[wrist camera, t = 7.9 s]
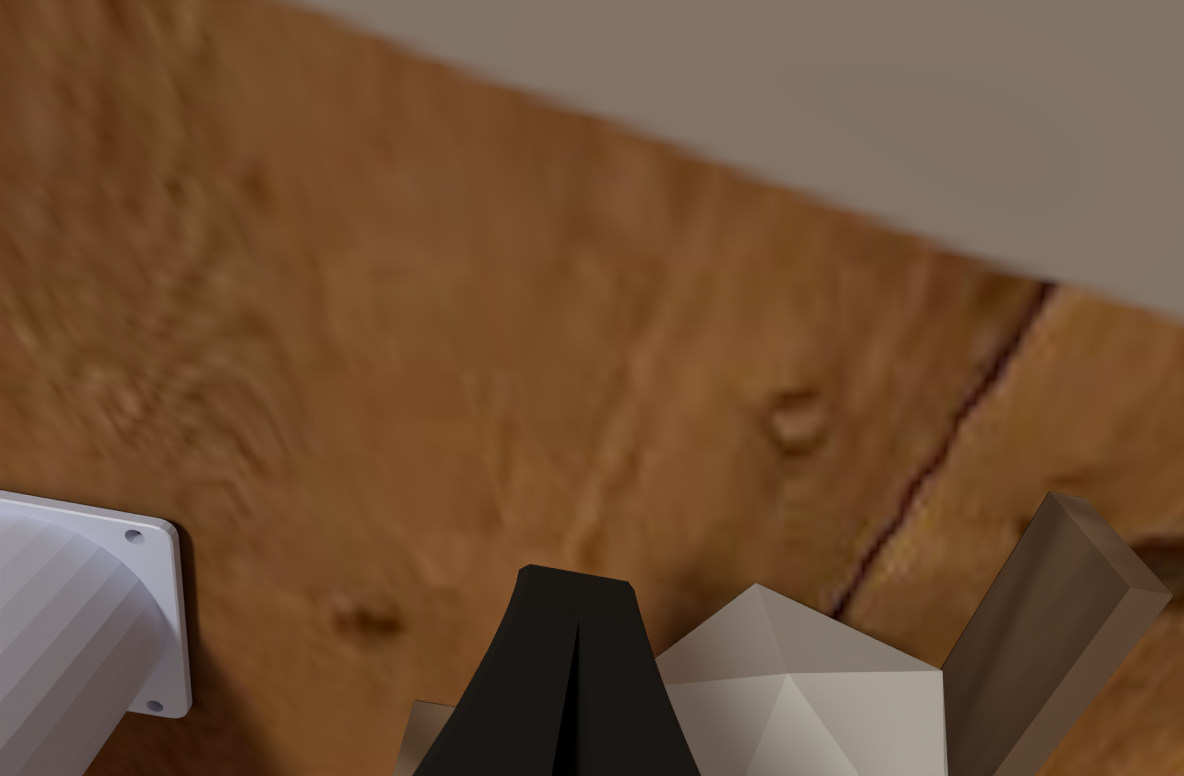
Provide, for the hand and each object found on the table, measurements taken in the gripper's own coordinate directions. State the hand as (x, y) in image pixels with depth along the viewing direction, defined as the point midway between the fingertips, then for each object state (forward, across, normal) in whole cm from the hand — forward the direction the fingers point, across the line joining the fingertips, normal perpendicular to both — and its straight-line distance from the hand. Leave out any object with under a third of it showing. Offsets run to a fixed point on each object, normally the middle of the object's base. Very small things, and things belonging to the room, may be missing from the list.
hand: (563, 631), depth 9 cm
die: (+10, -7, +10) cm, 15 cm away
